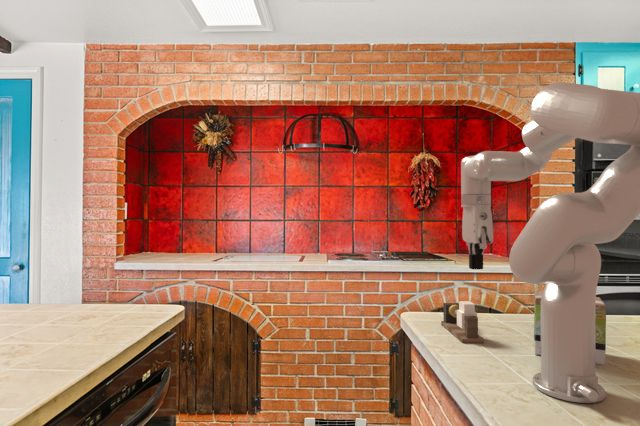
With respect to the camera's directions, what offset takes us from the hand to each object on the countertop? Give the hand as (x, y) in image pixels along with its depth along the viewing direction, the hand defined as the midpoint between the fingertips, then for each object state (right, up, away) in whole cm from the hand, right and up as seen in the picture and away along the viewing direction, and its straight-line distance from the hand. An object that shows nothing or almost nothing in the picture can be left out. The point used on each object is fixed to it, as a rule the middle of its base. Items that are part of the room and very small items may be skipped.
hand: (476, 268), depth 108 cm
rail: (0, -21, +11) cm, 24 cm away
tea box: (+21, -21, -7) cm, 30 cm away
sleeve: (0, -18, +7) cm, 19 cm away
